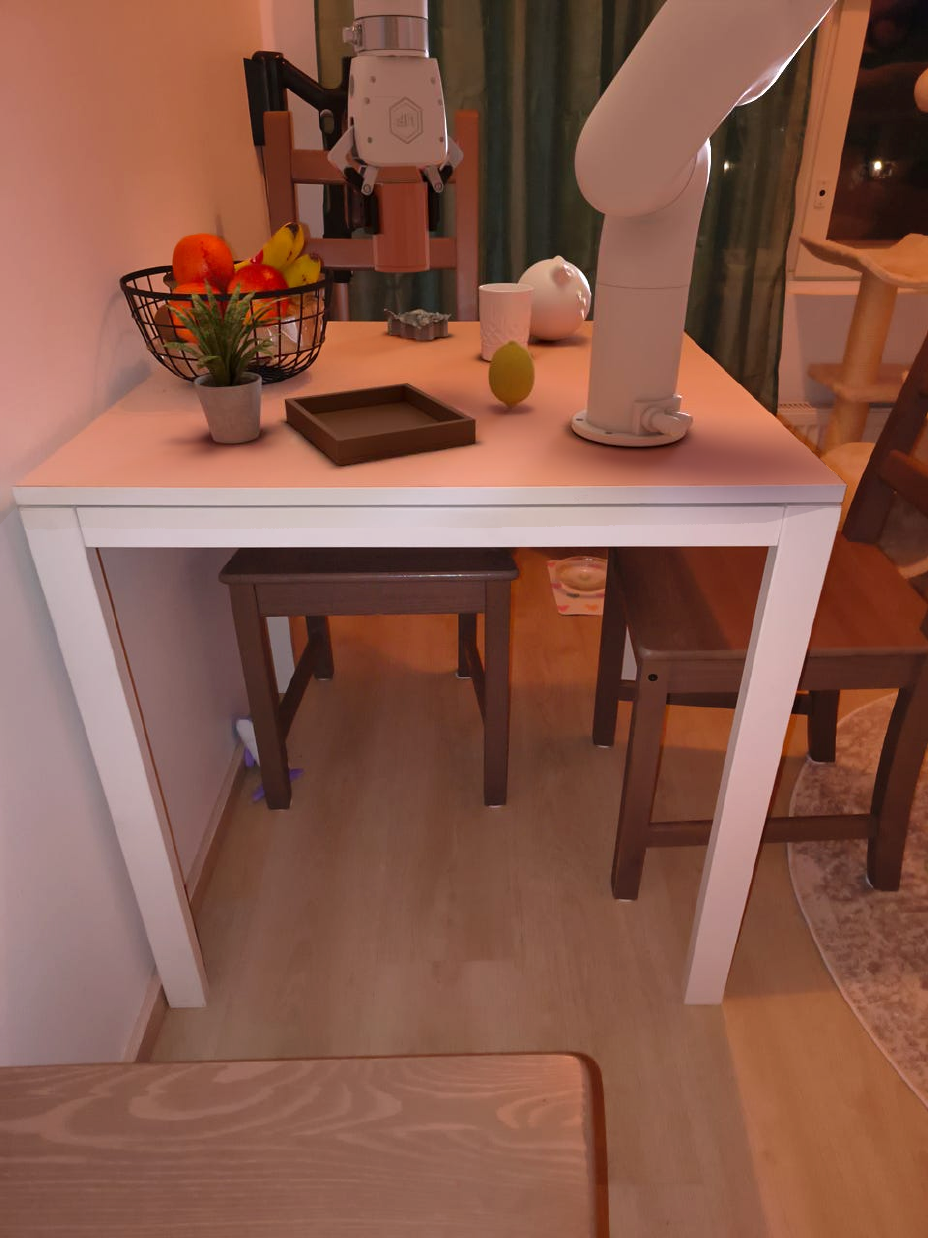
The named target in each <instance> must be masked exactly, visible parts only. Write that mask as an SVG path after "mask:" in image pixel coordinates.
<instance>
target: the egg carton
mask: <svg viewBox="0 0 928 1238" xmlns="http://www.w3.org/2000/svg"><path fill="white" fill-rule="evenodd" d="M382 313H385V315H388V317H387V325H386V326H387V334H388V335H389V336H401V338H405V339H411V338H413V339H414V340H415V341H417V342H421V341H424V342H425V341H432V340H435V338H442V337H444V338H445V337H448V336H449V318H450V317H451V316H452V315H453V313H450V314H446V313H444V314H443V313H439V311H436V313H434V312H427V311H425V310H424V309H415V310H412V311H408V312H407V311H405V313H404V314H402V313H401V312H399V313H398V314H397V315H396V314H395V313H394V312H393V311H391V310H388V309H387V308H383V310H382Z"/></svg>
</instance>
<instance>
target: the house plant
mask: <svg viewBox="0 0 928 1238" xmlns="http://www.w3.org/2000/svg"><path fill="white" fill-rule="evenodd" d="M241 282H242V279H241V280H239V282H238V283H237V285H236V287H235V289H234V291H233V293H232V295H231V297H230V300H229V302H228V304H227V307H226V309H225V313H224V317H223V320H222V316H221V311H220V307H219V304H218V302H217V300H216V297H215V295H214V293H213V290H212V288H211V285H210V283H209V282H208V281H207V279H206V278H204V285H205V291H206V295H207V301H208V305H207V304H206V303H205V302H204V301H203V300H202V298H201V297H200V295H199V294H198V293H196V292H195V291H193V290H191V292H190V294H191V297H187V299H189V300H192V302H193V303H192V304H193V306H194V308H193V307H191V308H185V307H183V306H182V305H181V304H178V306H179V307H180V309H181V311H183V313H184V314H183V313H182V312H181V311H180V310H178V309H176V308H175V307H172V306H170V305H168V304H166V303H164V302H163V303H162V304H164V305H165V307H167V308H168V309H169V310H170V311H171V312H172V314H173V315H174V316H175V317H176V318H177V319H178V320H179V321H180V322H181V323H182V325H184V327H185V328H186V329H187V330H188V331H189V332H190V333H191V334H192V335H193V337H194V338H195V339H196V341H197V342H198V345H197V348H198V349H199V351H200V352H201V353H202V354H200V353H199V352H197V351H196V350H195V349H194V348H192V347H190V346H188V345H186V344H184V343H180V342H178V341H171V342H166V343H164V344H163V345H161V348H169V349H176V350H180V351H183V352H186V353H189V354H191V356H193V357H195V358H196V359H197V361H198V363H197V364H196V367H197V373H199V372H200V370H202V369H204V368H207V370H208V371H209V373H208V374H203V375H201V376H199V377H196V378H195V379H194V380H193V384H194V388H195V390H196V393H197V396H198V399H199V402H200V405H201V408H202V411H203V413H204V417H205V421H206V422H207V426H208V429H209V431H210V435H211V437H212V440H213V442H216V443H219V444H220V443H221V444H240V443H246V442H251V441H254V440H256V439H258V438H259V437H260V436H261V415H262V414H261V412H262V411H261V409H262V385H263V384H262V382H263V378H262V376H261V375H260V374H258V373H254V372H249V371H246V369H247V368H248V366H249V364H250V363H251V362H252V360H253V359H254V358H255V356H256V354H257V353H262V354H266V355H268V356H269V357H271V358H272V359H274V360H273V361H276V358H275V356H274V354H273V352H271V351H270V350H268V348H269V347H270V348H271V347H275V348H276V347H277V348H278V347H279V348H280V349H282V348H281V347H280V346H278V345H276V344H275V343H274V342H273V341H272V340H271V339H272V338H274V337H277V336H280V335H284V334H285V335H286V333H285V332H283V333H275V334H271V335H269V336H268V337H266V338H265V339H263V338H260V337H254V338H251V339H249V337H250V335H251V333H252V331H253V330H256V329H258V328H260V327H262V326H265V325H266V324H268V323H271V322H274V321H280V320H282V319H285V318H287V317H288V316H286V315H285V316H277V317H276V316H275V317H270V318H265V319H262V317H264V316H265V314H267V313H268V312H269V311H271V310H276V309H280V308H282V306H276V307H275V306H274V307H269V306H270V305H272V304H274V303H276V302H279V301H282V300H286V299H290V296H287V297H282V298H278V299H274V300H272V301H269V302H261V301H260V302H255V303H254V304H252V305H250V302H251V300H252V298H253V297H254V296H255V293H256V292H257V290H254V291H252V292H250V293H248V294H247V295H245V296H244V297H243V298H242V299H241V301H240V302H239V299H240V293H241V289H242V283H241ZM293 296H294V295H293ZM293 296H291V298H292V297H293ZM256 305H262V306H260V308H258V309H257V310H256V311H255V312H254V313H253V314H252V315H251V316H250V317H249V318H248V319H247V315H248V312H249V311H250V309H251V308H252V307H253V306H256ZM267 307H269V308H267ZM266 308H267V309H266ZM264 309H265V310H264ZM187 310H188V311H187ZM260 312H261V313H260ZM191 315H192V316H193V317H194V318H195V320H196V321H197V323H198V324H197V323H196V321H195V320H194V318H193V317H192V316H191ZM257 315H258V316H257ZM255 317H256V318H255ZM253 319H254V320H253ZM246 320H247V321H246ZM252 320H253V322H252ZM245 321H246V323H245V324H244V322H245ZM243 324H244V326H243ZM243 338H244V340H243V342H242V344H241V346H240V343H241V341H242V339H243ZM259 341H262V342H260V343H258V344H256V345H255V346H253V347H251V348H250V349H248V351H247V352H245V351H246V350H247V348H249V347H250V346H251V345H252V344H253V343H255V342H259ZM239 346H240V347H239ZM282 350H283V349H282ZM243 353H244V354H243Z"/></svg>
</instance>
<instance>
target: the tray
mask: <svg viewBox="0 0 928 1238" xmlns="http://www.w3.org/2000/svg"><path fill="white" fill-rule="evenodd" d="M284 408H285V416H286V417H285V419H286V422H287V423H288V424H290V425H291V426H292V427H293V428H294V429H295V430H297V431H298V432H299V433H300V434H301V435H303V436H304V437H305V438H306V439H307V440H308V441H310V443H312V444H313V445H314V446H315V447H317V448H318V449H319V450H320V451H321V452H322V453H323V454H325V455H326V456H327V457H328V458H329V459H330V460H331V461H333V462H334V463H335V464H337V465H338V466H340V467H342V466H346V465H352V464H359V463H364V462H365V463H366V462H371V461H377V460H381V459H388V458H394V457H400V456H407V455H411V454H419V453H424V452H429V451H435V450H436V451H437V450H442V449H448V448H454V447H459V446H466V445H471V444H476V440H477V439H476V437H477V435H476V434H477V433H476V432H477V431H476V427H477V421H476V420H477V419H476V418H474V417H471V416H470V415H468V414H466V413H464V412H463V411H462V410H461V411H460V410H458V409H457V408H455V407H453V406H451V405H449V404H448V403H445V402H443V401H442V400H440V399H438V398H436V397H435V396H433V395H431V394H429V393H427V392H426V391H424V390H421V389H420V388H418V387H417V386H415V385H412V384H410V383H408V382H405V383H396V384H387V385H381V386H373V387H366V388H359V389H351V390H350V389H349V390H342V391H336V392H328V393H320V394H312V395H311V394H310V395H304V396H297V397H290V398H285V399H284Z"/></svg>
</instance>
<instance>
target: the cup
mask: <svg viewBox="0 0 928 1238" xmlns="http://www.w3.org/2000/svg"><path fill="white" fill-rule="evenodd" d="M373 195H376V196H377V198H378V215H379V234H378V235H372V244H373V260H374V261H373V262H374V270H375V271H376V272H378V273H379V272H380V273H390V274H391V273H393V274H403V273H419V272H424V271H429V270H430V269H431V264H430V263H431V260H430V231H429V223H428V191H427V182H423V181H421V180H420V181H419V180H417V181H416V180H412V181H409V180H408V181H407V180H405V181H403V180H402V181H400V180H399V181H398V180H397V181H396V180H395V181H375V184H374V187H373Z"/></svg>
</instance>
